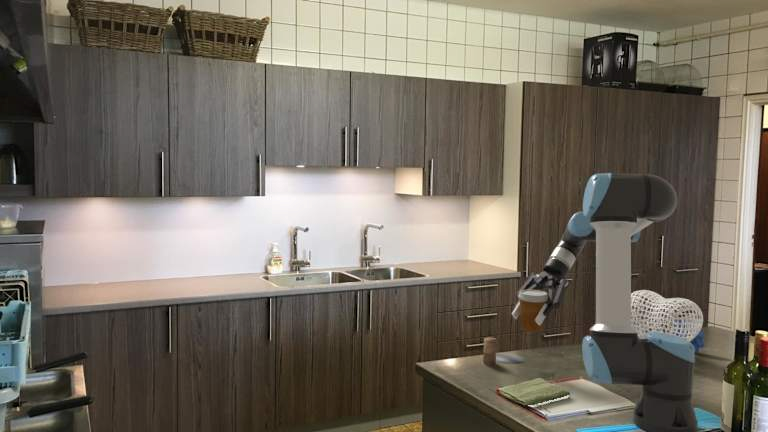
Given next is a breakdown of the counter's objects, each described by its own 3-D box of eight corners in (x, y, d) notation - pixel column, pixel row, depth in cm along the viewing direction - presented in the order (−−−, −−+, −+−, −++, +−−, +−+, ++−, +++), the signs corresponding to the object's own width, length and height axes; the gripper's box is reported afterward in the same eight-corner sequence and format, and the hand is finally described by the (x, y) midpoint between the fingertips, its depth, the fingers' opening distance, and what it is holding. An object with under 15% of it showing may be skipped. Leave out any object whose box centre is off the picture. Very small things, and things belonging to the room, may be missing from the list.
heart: (611, 349, 235) (614, 288, 233) (640, 344, 243) (644, 285, 241) (679, 372, 211) (684, 304, 209) (710, 366, 218) (714, 300, 216)
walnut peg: (491, 366, 208) (492, 341, 208) (480, 363, 211) (481, 339, 210) (498, 363, 211) (499, 339, 211) (487, 360, 214) (488, 336, 213)
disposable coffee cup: (512, 330, 207) (514, 293, 206) (521, 323, 216) (523, 288, 214) (542, 335, 203) (544, 297, 202) (550, 328, 211) (552, 291, 210)
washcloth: (495, 396, 187) (495, 385, 187) (540, 386, 196) (540, 375, 196) (527, 411, 176) (528, 400, 176) (573, 400, 185) (574, 389, 185)
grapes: (665, 350, 236) (667, 317, 235) (672, 346, 241) (675, 314, 240) (699, 357, 228) (701, 323, 227) (706, 354, 233) (708, 320, 232)
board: (509, 376, 203) (509, 372, 203) (474, 367, 211) (475, 363, 211) (539, 361, 219) (539, 357, 218) (505, 353, 226) (506, 350, 226)
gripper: (591, 277, 209) (558, 334, 201) (537, 266, 225) (504, 319, 217) (582, 262, 205) (548, 319, 197) (528, 252, 222) (494, 305, 213)
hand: (525, 319), depth 207 cm, fingers closed on disposable coffee cup, 8 cm apart
